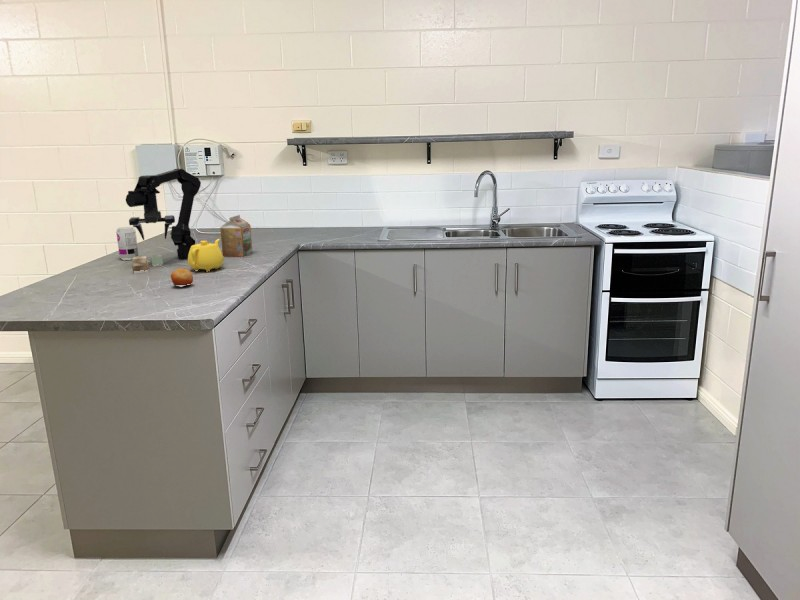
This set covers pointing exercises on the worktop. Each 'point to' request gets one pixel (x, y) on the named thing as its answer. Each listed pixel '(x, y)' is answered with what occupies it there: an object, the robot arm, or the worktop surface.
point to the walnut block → (140, 267)
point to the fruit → (181, 277)
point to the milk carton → (236, 238)
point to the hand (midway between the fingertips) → (154, 239)
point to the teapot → (205, 256)
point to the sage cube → (157, 259)
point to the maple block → (140, 261)
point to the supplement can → (127, 242)
